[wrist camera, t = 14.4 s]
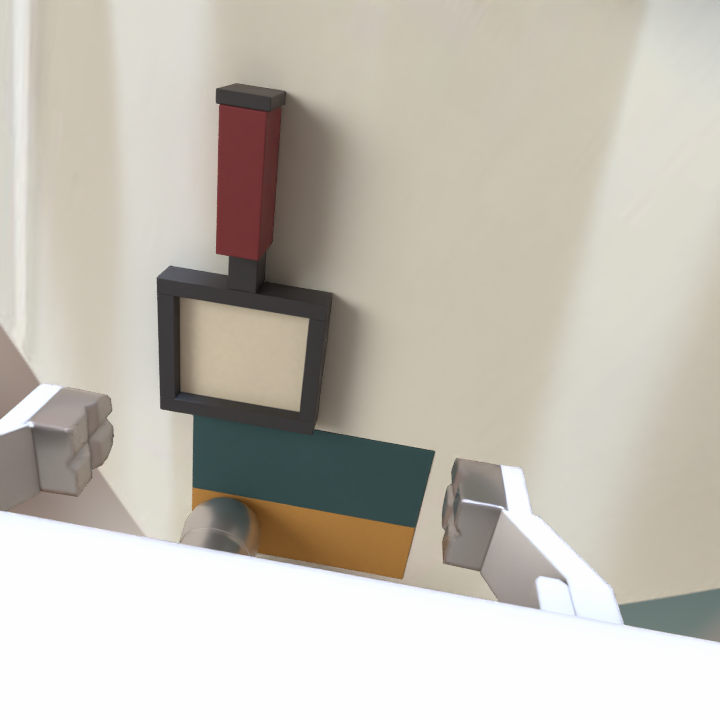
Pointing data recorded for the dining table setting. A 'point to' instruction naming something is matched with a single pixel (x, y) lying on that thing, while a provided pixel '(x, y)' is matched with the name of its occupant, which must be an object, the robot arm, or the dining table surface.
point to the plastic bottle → (223, 527)
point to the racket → (243, 294)
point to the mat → (316, 491)
